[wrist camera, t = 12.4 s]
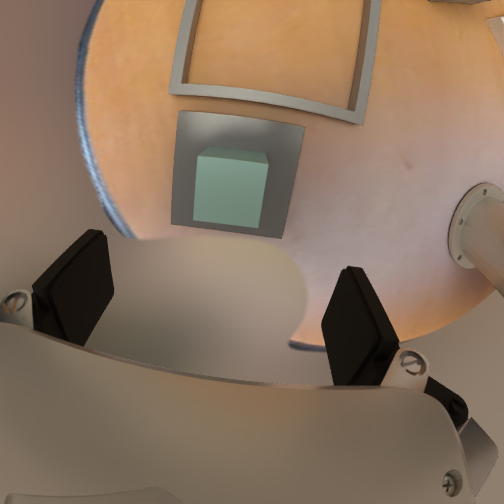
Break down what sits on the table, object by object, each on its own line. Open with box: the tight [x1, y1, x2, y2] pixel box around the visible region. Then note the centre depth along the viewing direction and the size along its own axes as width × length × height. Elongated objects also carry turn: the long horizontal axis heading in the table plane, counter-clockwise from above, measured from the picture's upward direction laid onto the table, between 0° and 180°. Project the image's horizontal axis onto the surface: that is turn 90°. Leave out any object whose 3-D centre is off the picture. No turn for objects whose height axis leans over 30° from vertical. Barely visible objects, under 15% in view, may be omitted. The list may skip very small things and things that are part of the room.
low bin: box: [168, 0, 381, 125], centre depth 17 cm, size 17×17×2 cm
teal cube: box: [193, 146, 269, 228], centre depth 22 cm, size 5×5×5 cm
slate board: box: [171, 111, 305, 239], centre depth 25 cm, size 11×11×2 cm
